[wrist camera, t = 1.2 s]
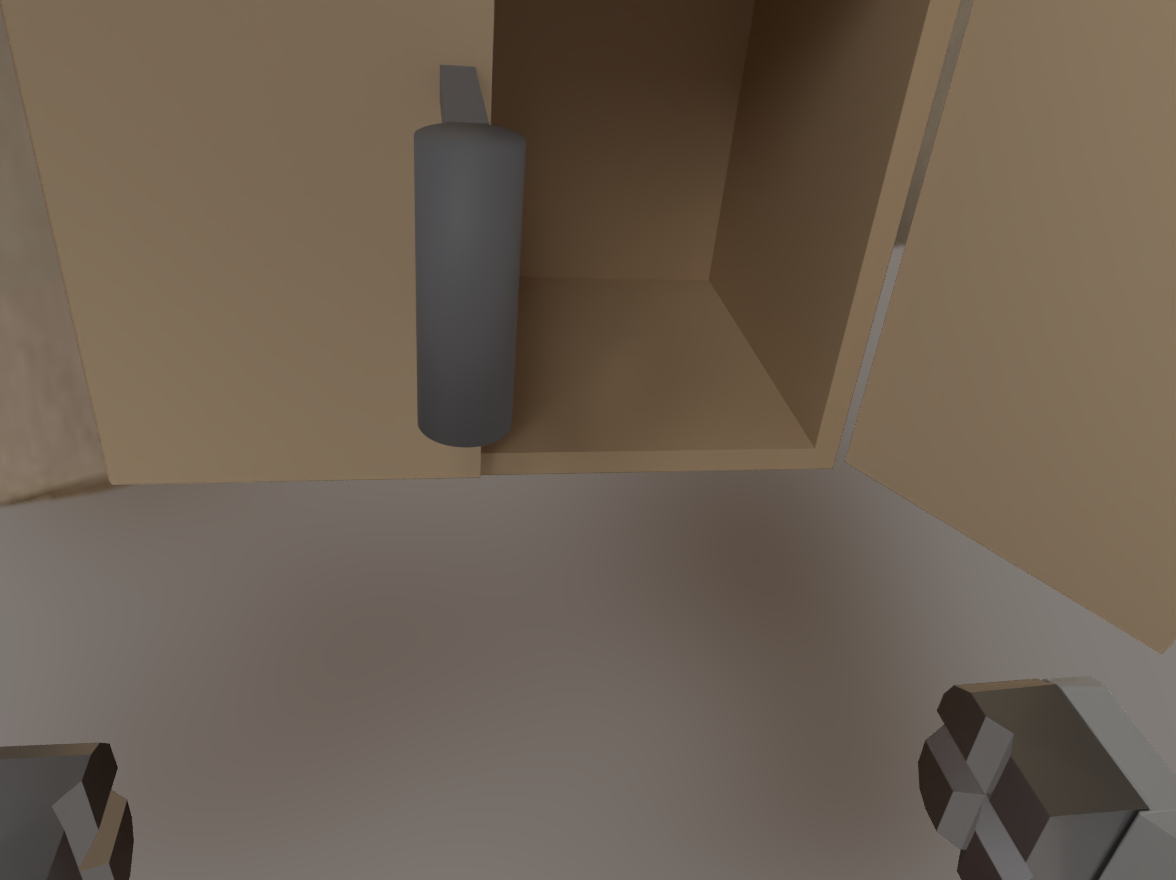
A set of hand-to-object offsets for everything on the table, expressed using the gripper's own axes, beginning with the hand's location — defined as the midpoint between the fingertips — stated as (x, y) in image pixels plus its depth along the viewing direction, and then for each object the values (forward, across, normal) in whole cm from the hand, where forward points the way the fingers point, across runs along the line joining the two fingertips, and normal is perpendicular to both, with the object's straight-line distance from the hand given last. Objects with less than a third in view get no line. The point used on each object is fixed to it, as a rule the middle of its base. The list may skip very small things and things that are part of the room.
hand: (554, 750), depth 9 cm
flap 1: (+18, +5, 0) cm, 18 cm away
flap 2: (+13, -15, 0) cm, 20 cm away
